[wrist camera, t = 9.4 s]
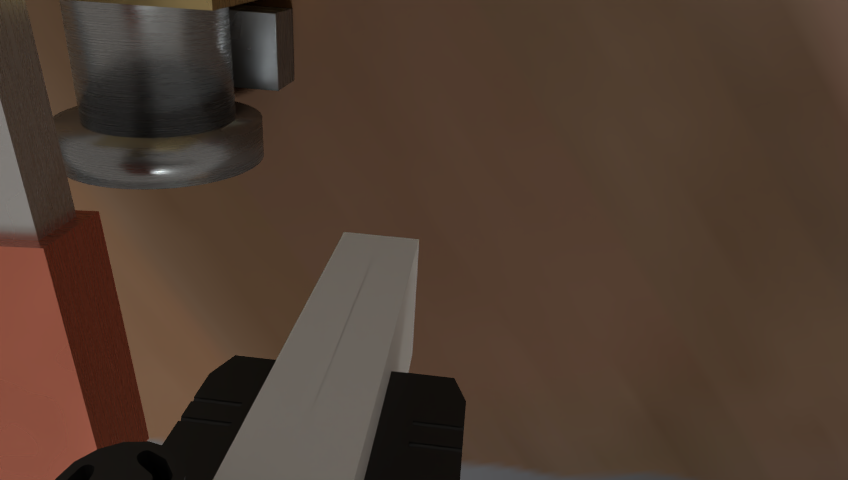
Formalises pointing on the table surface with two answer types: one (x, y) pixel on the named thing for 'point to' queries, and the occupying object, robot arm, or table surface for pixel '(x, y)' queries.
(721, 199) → the table surface
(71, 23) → the pipe valve
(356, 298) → the robot arm
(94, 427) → the lever
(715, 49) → the table surface
